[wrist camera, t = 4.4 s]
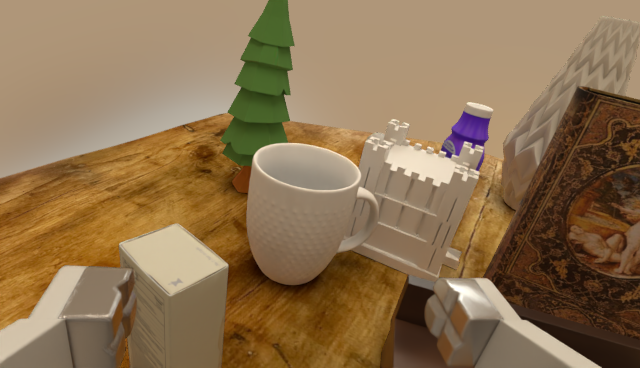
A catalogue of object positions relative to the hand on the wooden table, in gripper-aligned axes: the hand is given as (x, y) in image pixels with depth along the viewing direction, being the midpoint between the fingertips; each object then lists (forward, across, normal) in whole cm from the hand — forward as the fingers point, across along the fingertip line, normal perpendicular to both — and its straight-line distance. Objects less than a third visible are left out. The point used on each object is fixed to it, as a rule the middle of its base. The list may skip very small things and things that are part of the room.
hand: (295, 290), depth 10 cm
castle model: (+32, +22, -22) cm, 45 cm away
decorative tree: (+45, +1, -22) cm, 50 cm away
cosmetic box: (+13, -5, -22) cm, 26 cm away
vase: (+46, +52, -22) cm, 73 cm away
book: (+19, +35, -22) cm, 46 cm away
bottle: (+44, +34, -22) cm, 60 cm away
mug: (+26, +6, -22) cm, 35 cm away
